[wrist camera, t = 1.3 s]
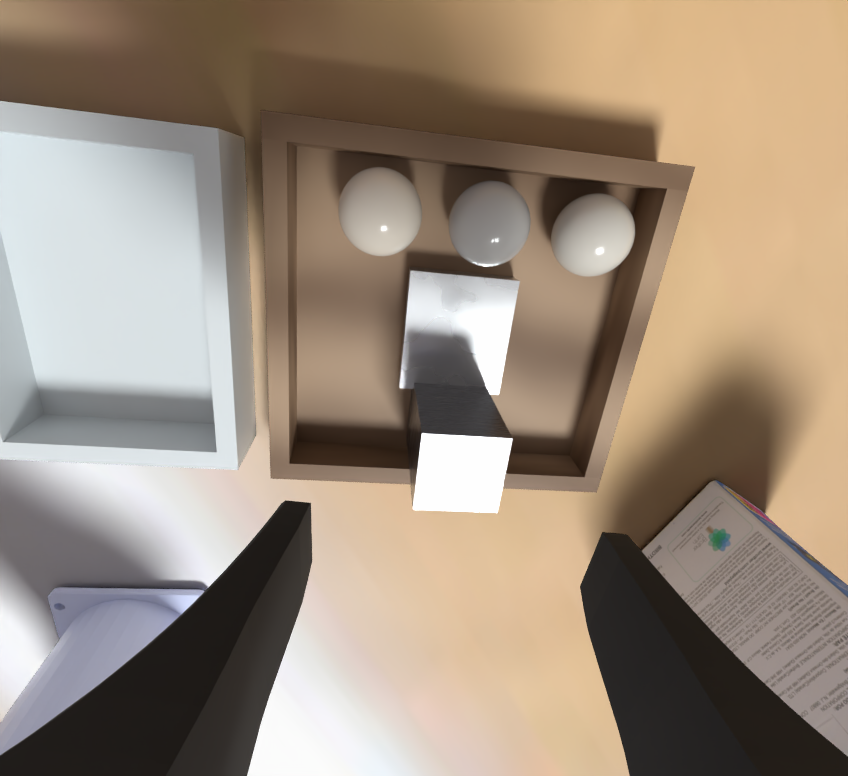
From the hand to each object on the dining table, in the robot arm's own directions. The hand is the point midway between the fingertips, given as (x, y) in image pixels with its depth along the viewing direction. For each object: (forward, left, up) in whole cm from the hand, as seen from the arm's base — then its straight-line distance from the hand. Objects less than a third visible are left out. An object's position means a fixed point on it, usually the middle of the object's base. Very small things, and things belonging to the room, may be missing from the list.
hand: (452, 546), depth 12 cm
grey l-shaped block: (+1, -1, -10) cm, 11 cm away
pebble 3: (+7, -6, -10) cm, 14 cm away
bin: (+3, +12, -11) cm, 17 cm away
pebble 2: (+7, -2, -10) cm, 13 cm away
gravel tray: (+3, -1, -11) cm, 11 cm away
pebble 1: (+7, +2, -10) cm, 13 cm away
